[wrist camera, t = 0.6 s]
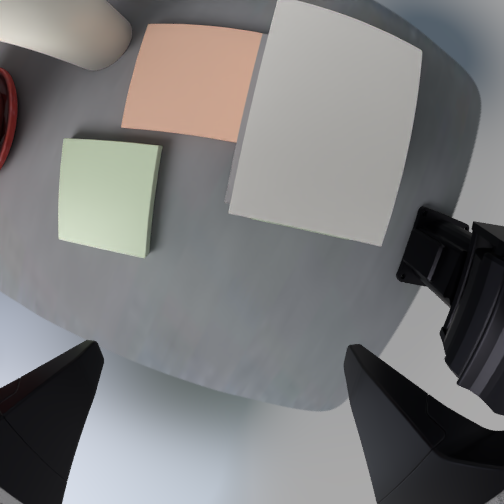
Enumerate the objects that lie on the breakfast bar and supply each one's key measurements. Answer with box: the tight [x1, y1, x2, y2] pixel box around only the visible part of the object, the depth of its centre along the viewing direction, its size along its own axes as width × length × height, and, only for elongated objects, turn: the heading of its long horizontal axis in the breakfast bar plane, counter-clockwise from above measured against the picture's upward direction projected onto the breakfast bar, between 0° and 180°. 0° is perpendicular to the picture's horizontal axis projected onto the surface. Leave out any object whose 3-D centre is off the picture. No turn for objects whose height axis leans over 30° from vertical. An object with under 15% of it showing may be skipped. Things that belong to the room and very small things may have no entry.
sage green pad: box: [58, 138, 163, 258], centre depth 18 cm, size 8×8×1 cm
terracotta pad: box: [121, 24, 263, 143], centre depth 15 cm, size 8×8×1 cm
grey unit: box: [224, 0, 422, 247], centre depth 14 cm, size 8×12×8 cm, turn 168°
